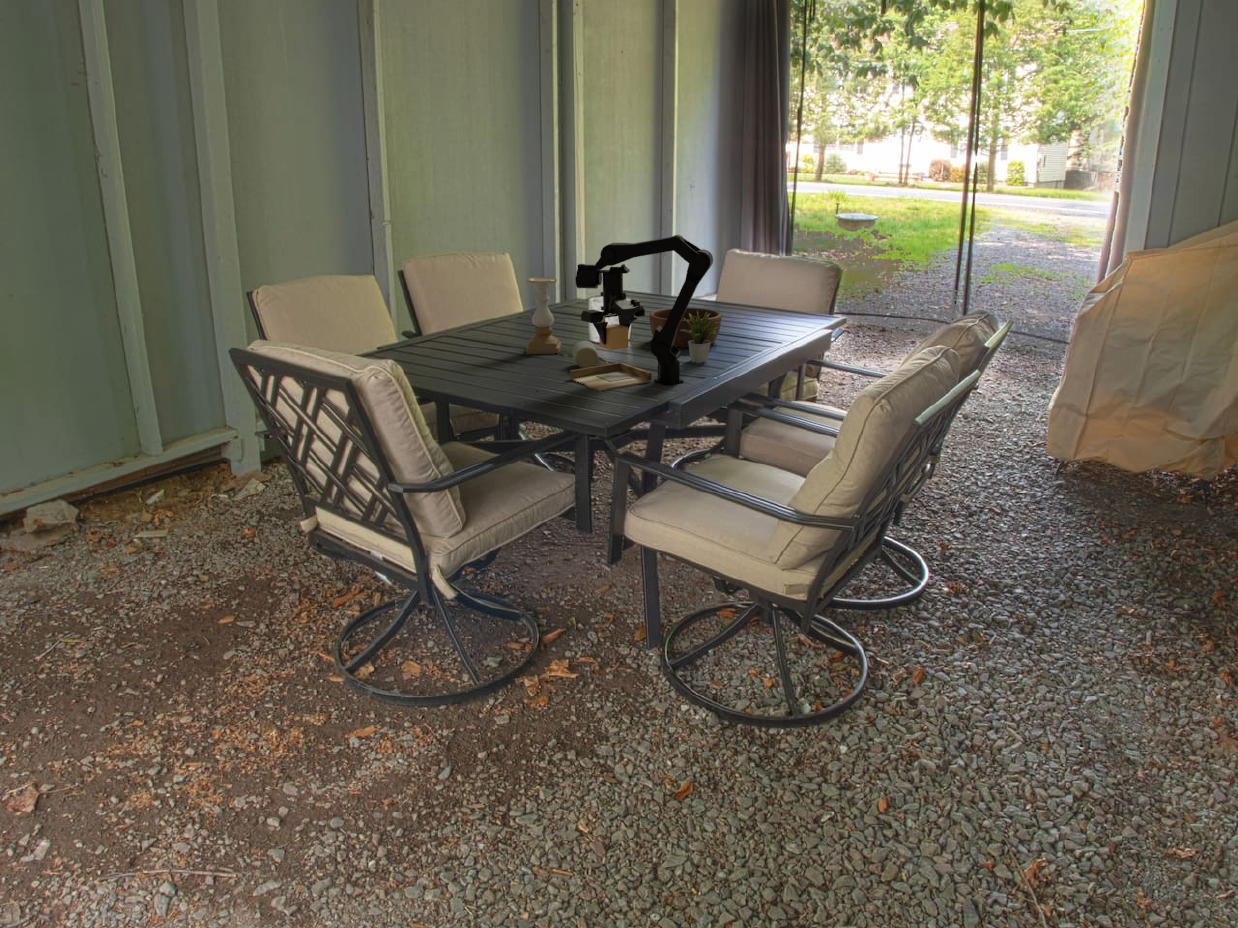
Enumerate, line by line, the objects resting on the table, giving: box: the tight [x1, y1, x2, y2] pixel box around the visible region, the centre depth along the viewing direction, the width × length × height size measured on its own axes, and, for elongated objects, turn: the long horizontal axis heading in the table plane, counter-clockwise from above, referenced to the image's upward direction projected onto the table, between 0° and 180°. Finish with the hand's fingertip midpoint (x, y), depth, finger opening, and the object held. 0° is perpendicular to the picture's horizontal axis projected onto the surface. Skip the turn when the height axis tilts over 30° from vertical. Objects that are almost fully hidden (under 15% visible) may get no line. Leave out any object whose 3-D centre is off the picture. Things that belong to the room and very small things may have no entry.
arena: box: [569, 361, 653, 392], centre depth 255 cm, size 16×18×3 cm
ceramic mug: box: [571, 340, 609, 369], centre depth 270 cm, size 11×8×8 cm
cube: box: [598, 323, 629, 351], centre depth 252 cm, size 6×6×6 cm
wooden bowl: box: [648, 307, 723, 349], centre depth 302 cm, size 25×25×10 cm
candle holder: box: [525, 276, 562, 355], centre depth 290 cm, size 11×11×24 cm
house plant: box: [680, 311, 723, 364], centre depth 274 cm, size 14×14×16 cm
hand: (613, 343), depth 253 cm, fingers closed on cube, 6 cm apart
